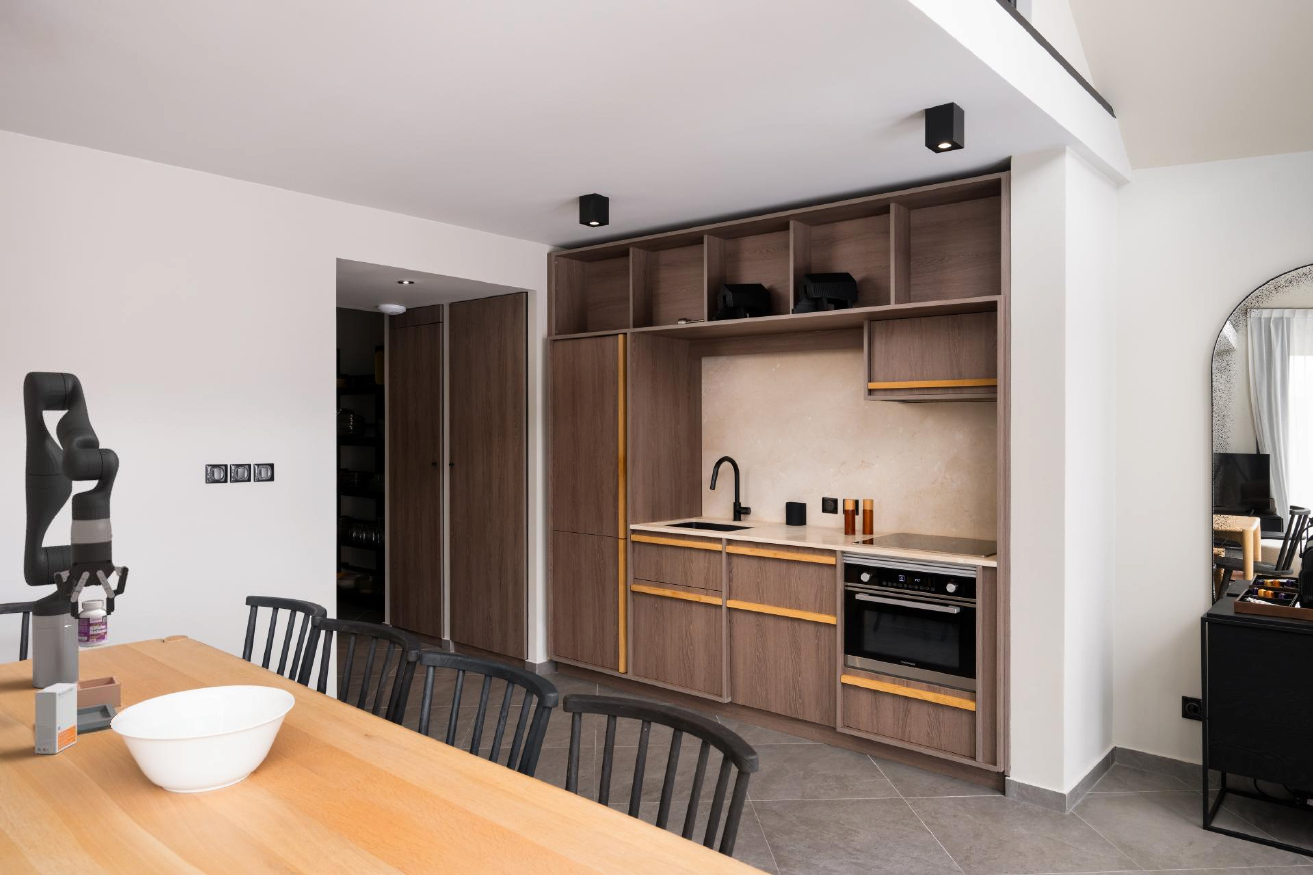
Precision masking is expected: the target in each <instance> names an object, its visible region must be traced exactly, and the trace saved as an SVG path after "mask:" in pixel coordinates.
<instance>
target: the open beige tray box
mask: <svg viewBox="0 0 1313 875" xmlns="http://www.w3.org/2000/svg"><path fill="white" fill-rule="evenodd" d="M73 684H77V708H82V707H88V706H93V705H99V704H105V703H111V702H112V704H113V707H114V708H116V707H121V706H122V705H121V704H122V703H121V702H122V700H121V695H122V694H121V691H122V690H121V687H122V686H121V682H120V680H119V679H118V676H117V675H115V674H114V675H109V676H102V677H93V678H89V679H82V680H77V681H75V682H73Z"/></svg>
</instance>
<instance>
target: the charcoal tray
mask: <svg viewBox="0 0 1313 875" xmlns="http://www.w3.org/2000/svg"><path fill="white" fill-rule="evenodd" d="M116 715H118V713H117V711H116V708H115V707H113V704H112V702H111V703H105V704H99V705H93V706H88V707H82V708H77V736H78V735H84V734H89V733H93V732H94V733H95V732H99V731H104V730H109V729H110V730H111V729H112V728H111V725H110V723H111V720H112V719H113V718H114V717H115V716H116Z"/></svg>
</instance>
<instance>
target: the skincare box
mask: <svg viewBox="0 0 1313 875" xmlns="http://www.w3.org/2000/svg"><path fill="white" fill-rule="evenodd" d="M34 694H35V696H34V697H35V698H34V701H35V705H34V706H35V707H34V708H35V709H34V711H35V713H34V714H35V715H34V718H35V721H34V724H35V726H34V731H35V732H34V735H35V737H34V739H35V740H34V748H35V749H34V752H35V754H37V753H38V755H39V754H41V755H44V754H45V755H47V754H48V755H57V754H58V753H59V752H61V751H62V752H63V750H65V749H67V748H69V747H72V746H73V745H75V744H77V742H78V741H77V740H78V739H77V738H78V735H77V684H74V683H57V684H55V685H52V686H49V687H47V688H42V689H41V690H38V691H36V692H35V693H34Z"/></svg>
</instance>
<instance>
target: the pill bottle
mask: <svg viewBox="0 0 1313 875" xmlns="http://www.w3.org/2000/svg"><path fill="white" fill-rule="evenodd" d="M104 604H105V603H104V600H103V599H90V600H85V601H82V602H81V609H82V610H81V611H80V612H79V619H78V645H79V647H80V648H95V647H100V646H104V645H106V644H107V642H108V615H107V611H106V608H103V607H104Z"/></svg>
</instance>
